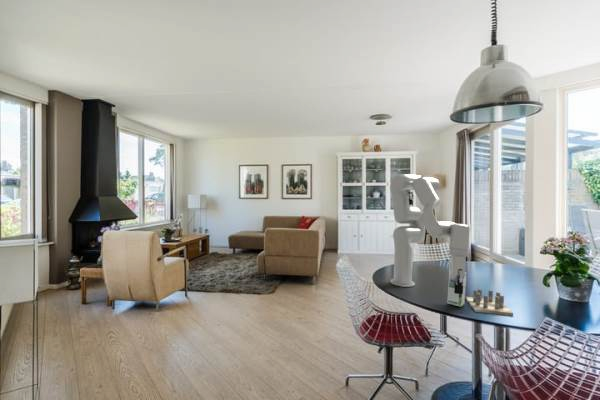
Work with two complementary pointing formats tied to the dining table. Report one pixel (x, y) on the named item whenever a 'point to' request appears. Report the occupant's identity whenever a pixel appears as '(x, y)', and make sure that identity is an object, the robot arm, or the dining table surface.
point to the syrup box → (453, 297)
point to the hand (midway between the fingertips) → (456, 290)
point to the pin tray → (488, 303)
